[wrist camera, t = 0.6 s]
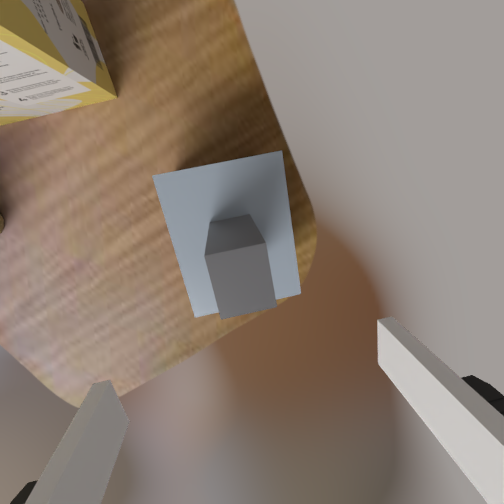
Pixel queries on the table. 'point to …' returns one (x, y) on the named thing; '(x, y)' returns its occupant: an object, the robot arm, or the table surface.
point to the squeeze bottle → (1, 223)
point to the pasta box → (48, 59)
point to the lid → (232, 233)
